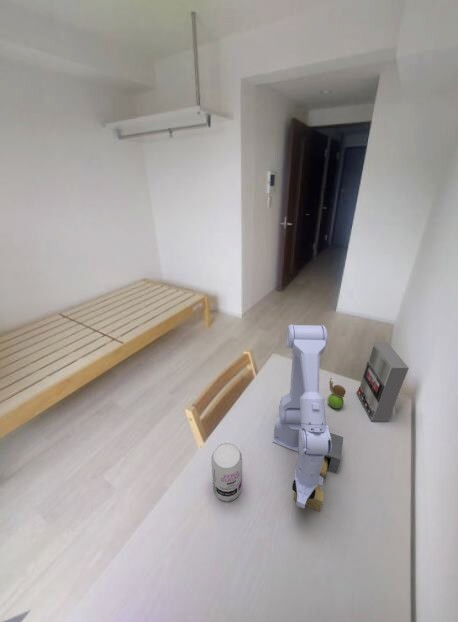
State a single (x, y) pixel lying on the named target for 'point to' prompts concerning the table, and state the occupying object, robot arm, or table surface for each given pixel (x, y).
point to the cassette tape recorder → (381, 382)
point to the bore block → (335, 453)
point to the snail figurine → (336, 395)
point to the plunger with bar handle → (317, 489)
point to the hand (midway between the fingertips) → (302, 494)
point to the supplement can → (227, 471)
